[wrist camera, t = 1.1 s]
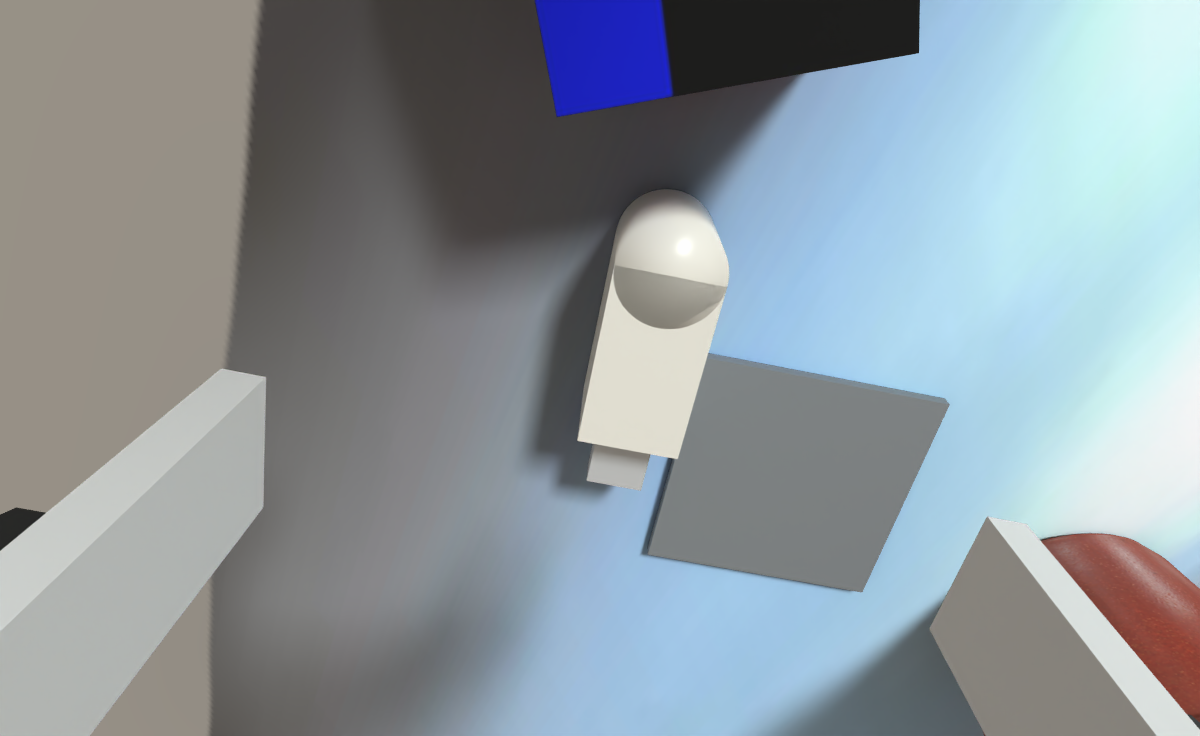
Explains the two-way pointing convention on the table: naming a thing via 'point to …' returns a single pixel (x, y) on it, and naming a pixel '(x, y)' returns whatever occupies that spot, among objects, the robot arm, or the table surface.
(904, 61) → the table surface
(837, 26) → the puzzle toy
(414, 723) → the table surface
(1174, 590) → the flower pot
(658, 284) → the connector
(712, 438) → the coaster
